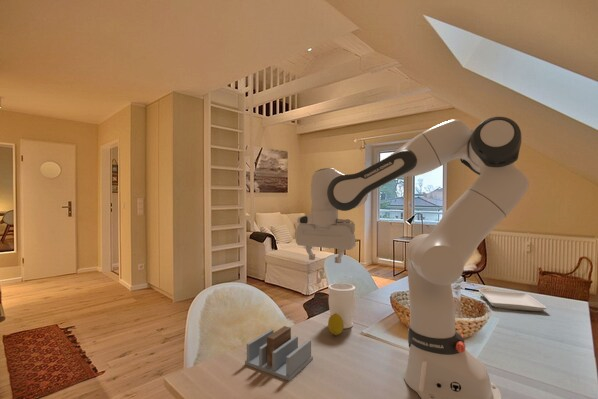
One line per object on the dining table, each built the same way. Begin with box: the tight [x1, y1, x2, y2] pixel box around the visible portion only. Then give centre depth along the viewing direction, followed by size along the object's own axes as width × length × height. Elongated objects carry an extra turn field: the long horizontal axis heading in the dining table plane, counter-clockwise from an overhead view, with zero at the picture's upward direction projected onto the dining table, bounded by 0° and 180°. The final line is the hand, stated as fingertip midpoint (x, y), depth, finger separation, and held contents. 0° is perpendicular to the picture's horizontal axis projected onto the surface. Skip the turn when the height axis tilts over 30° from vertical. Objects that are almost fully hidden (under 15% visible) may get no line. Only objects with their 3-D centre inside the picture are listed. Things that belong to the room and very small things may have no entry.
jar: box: [328, 282, 357, 330], centre depth 118 cm, size 11×10×15 cm
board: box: [267, 325, 292, 366], centre depth 91 cm, size 2×9×8 cm, turn 148°
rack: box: [244, 328, 314, 382], centre depth 91 cm, size 16×13×6 cm
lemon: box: [327, 313, 344, 336], centre depth 109 cm, size 6×6×8 cm
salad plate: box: [478, 289, 547, 312], centre depth 140 cm, size 21×21×3 cm
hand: (324, 261), depth 97 cm, fingers open, 8 cm apart
